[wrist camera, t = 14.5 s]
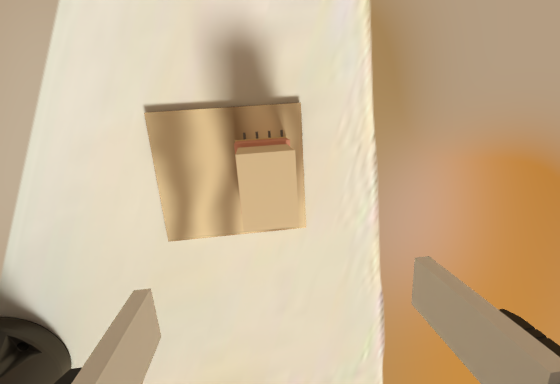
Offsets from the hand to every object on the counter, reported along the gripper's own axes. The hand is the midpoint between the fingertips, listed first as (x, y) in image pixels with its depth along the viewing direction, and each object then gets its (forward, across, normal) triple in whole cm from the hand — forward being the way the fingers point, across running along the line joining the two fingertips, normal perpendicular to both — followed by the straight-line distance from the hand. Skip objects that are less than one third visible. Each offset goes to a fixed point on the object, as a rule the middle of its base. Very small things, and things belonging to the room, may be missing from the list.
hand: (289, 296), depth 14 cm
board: (+23, -4, +2) cm, 23 cm away
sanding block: (+22, 0, +2) cm, 22 cm away
